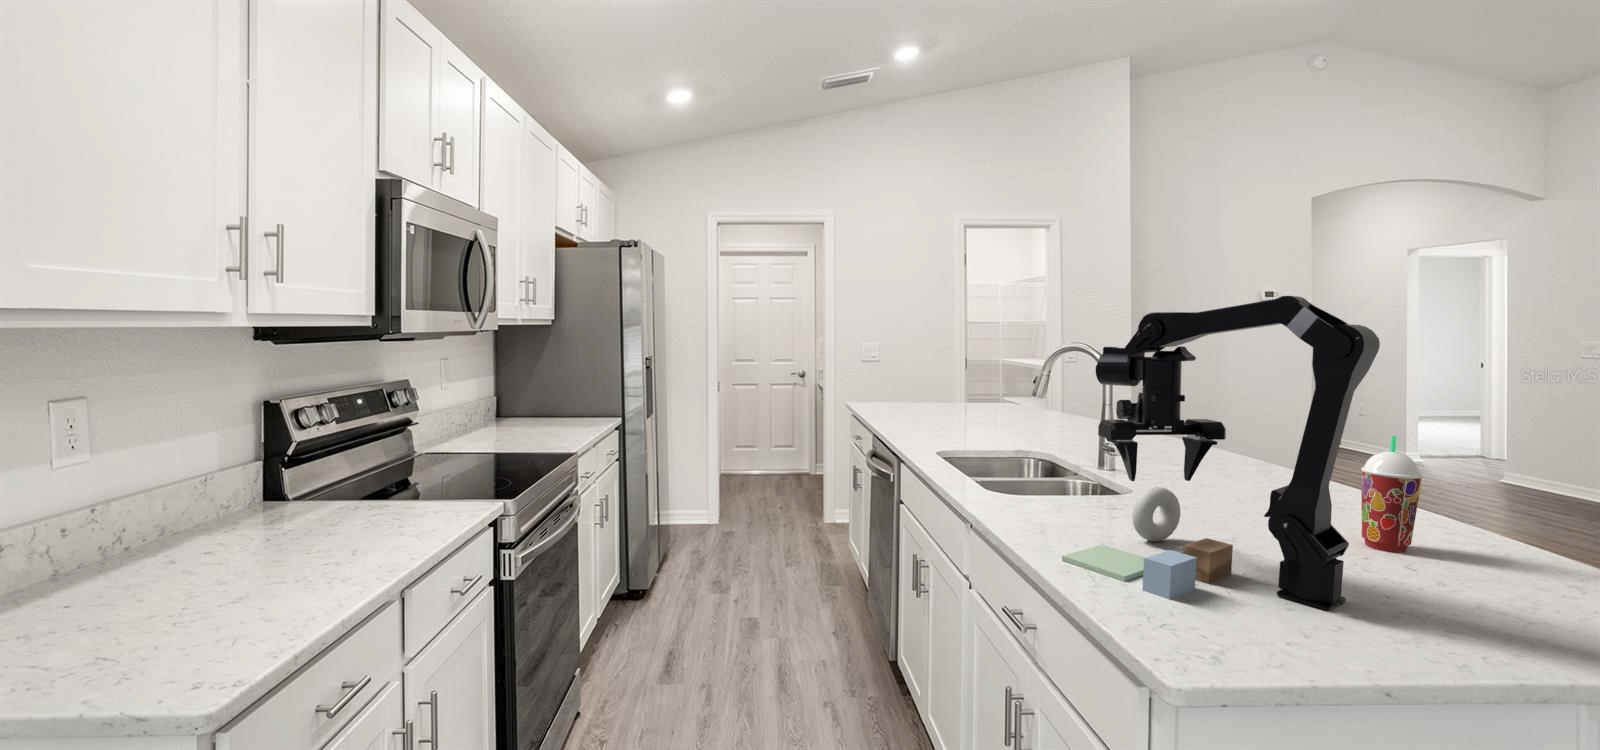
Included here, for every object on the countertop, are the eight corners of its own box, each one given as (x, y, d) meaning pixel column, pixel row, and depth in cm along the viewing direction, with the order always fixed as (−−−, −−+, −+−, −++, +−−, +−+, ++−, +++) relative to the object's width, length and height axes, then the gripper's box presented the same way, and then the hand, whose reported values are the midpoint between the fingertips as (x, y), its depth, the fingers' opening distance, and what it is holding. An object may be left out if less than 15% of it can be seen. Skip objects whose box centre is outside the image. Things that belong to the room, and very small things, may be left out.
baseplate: (1163, 567, 114) (1163, 563, 114) (1124, 581, 108) (1124, 576, 107) (1101, 549, 123) (1101, 544, 123) (1062, 560, 117) (1062, 555, 117)
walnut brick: (1231, 575, 111) (1232, 544, 110) (1208, 584, 107) (1210, 552, 106) (1204, 568, 114) (1206, 538, 114) (1181, 576, 110) (1183, 545, 110)
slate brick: (1194, 590, 105) (1196, 557, 104) (1169, 600, 101) (1171, 566, 100) (1168, 581, 108) (1169, 549, 108) (1142, 591, 104) (1144, 558, 104)
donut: (1141, 547, 124) (1144, 491, 123) (1126, 541, 127) (1128, 486, 127) (1183, 541, 128) (1186, 487, 127) (1167, 535, 131) (1170, 482, 130)
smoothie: (1429, 555, 121) (1439, 440, 120) (1380, 554, 121) (1389, 439, 120) (1390, 540, 130) (1398, 432, 128) (1344, 539, 130) (1351, 432, 128)
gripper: (1191, 384, 125) (1189, 471, 126) (1086, 385, 126) (1085, 471, 126) (1228, 388, 114) (1226, 484, 115) (1113, 389, 114) (1111, 484, 115)
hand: (1159, 480), depth 118 cm, fingers open, 9 cm apart
